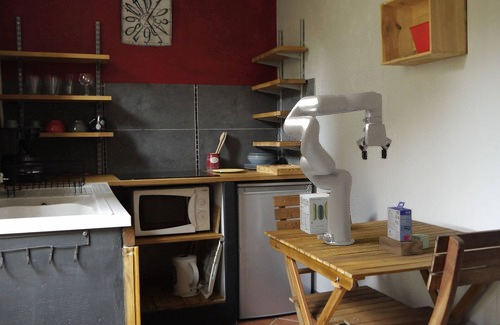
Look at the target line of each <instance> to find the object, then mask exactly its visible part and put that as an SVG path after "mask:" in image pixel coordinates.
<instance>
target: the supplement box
mask: <svg viewBox="0 0 500 325" xmlns="http://www.w3.org/2000/svg"><path fill="white" fill-rule="evenodd" d="M329 195H330V193H328V192H319V193H318V192H317V193H304V194H301V193H300V194H299V214H300V215H299V221H300V226H299V227H300V230H301V231H302V232H304V233H306V234H308V235H323V234H326V232H328V209H327V201H328V197H329Z"/></svg>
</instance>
